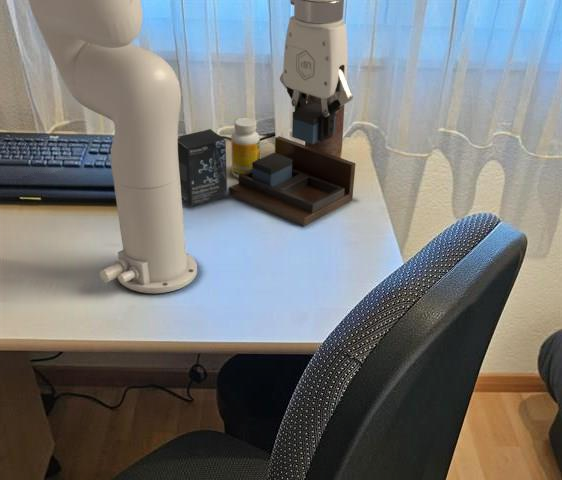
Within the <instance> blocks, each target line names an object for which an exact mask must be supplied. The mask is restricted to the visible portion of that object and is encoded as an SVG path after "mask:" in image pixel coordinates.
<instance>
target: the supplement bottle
mask: <svg viewBox="0 0 562 480" xmlns="http://www.w3.org/2000/svg"><path fill="white" fill-rule="evenodd" d="M233 127H234V128H233V129H234V132H232V133H231V137H230V143H231V144H230V146H231V147H230V148H231V173H232V175H233V176H234V177H236V178H238V179H239V175H240V174H243V173H245V172H247V171H249V170H252V162H254V161H256V160H259V159H261V138H260V137H261V136H260V135H259V133H258V131H256V130H257V121H256V120H255V119H253V118H249V117H240V118H237V119H235V121H234V126H233Z"/></svg>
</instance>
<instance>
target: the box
mask: <svg viewBox="0 0 562 480" xmlns="http://www.w3.org/2000/svg"><path fill="white" fill-rule="evenodd" d="M226 141H227V139H225V138H224V137H223V136H221V135H219V133H217V132H215V131H214V130H212V129H210V128H209V129H204V130H201V131H197V132H192V133H187V134H184V135H183V134H182V135H178V161H179V172H180V185H181V197H182V203H184V204H186V205H187V206H188V207H189V208H192V207H195V206H199V205H202V204H205V203H206V204H207V203H210V202H214V201H218V200H222V199H223V200H225V199H227V198H228V178H227V177H228V175H227V142H226Z"/></svg>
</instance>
